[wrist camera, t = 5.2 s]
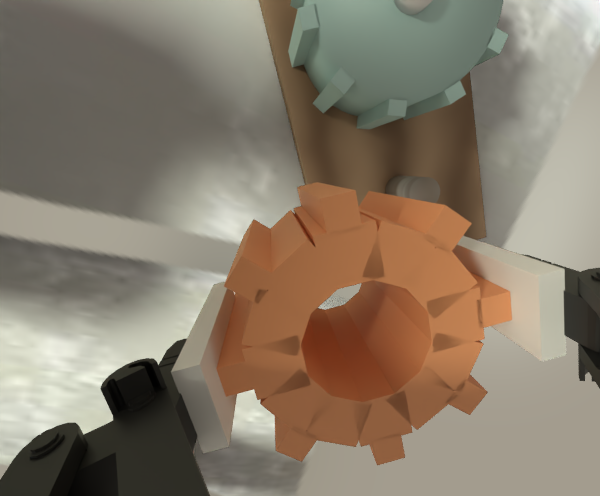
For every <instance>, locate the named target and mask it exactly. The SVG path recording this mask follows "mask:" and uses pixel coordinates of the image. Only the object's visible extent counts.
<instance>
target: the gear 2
mask: <svg viewBox="0 0 600 496" xmlns="http://www.w3.org/2000/svg"><path fill="white" fill-rule="evenodd" d="M297 189H298V193H299V198H300V202H301V206H300V207H296V208H294V212H295V214H294V213H293V212H292V211H291V210H290V211H289V212H288V213H287V214H286V215H285V216H284V217H283V218H282V219H280V220H279V221H278V222H277V223H276V224H275V225H274V226H273V227H272V228H271V229H269V228H268V227H266V226H264V225H262V224H261V223H259V222H257V221H256V220H254V219H253V221H252V223H251V224H250V226H249V228H248V230H247V231H246V233H245V235H244V236H243V239H242V241H241V244H240V246H239V249H238V252H237V254H236V257H235V259H234V262H233V264H232V267H231V269H230V272H229V274H228V277H227V279H226V282H225V284H224V287H226V288H228V289H230V290H232V291H234V292H235V301H234V305H233V308H232V312H231V316H230V320H229V323H228V327H227V331H226V335H225V338H224V342H223V346H222V350H221V353H220V357H219V361H218V365H217V368H216V369H217V372H218V375H219V378H220V381H221V384H222V387H223V390H224V392H225V395H226V397H227V396H230V395H234V394H238V393H242V392H245V391H249V390H253V389H254V390H255V393H256V396H257V400H259V399H261V403H260V404H261V405H262V406H264V407H265V408H266V409H267V410H268V411H270V412H271V413H272V414H273V415H275V444H276V451H277V452H280V453H282V454H285V455H287V456H289V457H292V458H294V459H296V460H299V461H301V462H302V461H303V459H304V458H305V456H306V455H307V454H308V452H309V451H310V449H311V448H312V446H313V445H314V444H315V442H316V441H317V440H318V441H324V442H330V443H336V444H342V445H347V446H354V447H356V445H357V443H358V440H359V442H360V445H361V446H365V445H368V444H369V445H370V447H371V450H372V453H373V455H374V458H375V461H376V463H377V465H380V464H384V463H387V462H391V461H394V460H398V459H401V458H405V454H404V449H403V443H402V438H401V435H405V434H408V433H412V427H411V425H412V426H413V427H415V428H416V429H419V428H420V427H421V426H422V425H424V424H425V423H426V422H427V421H428V420H430V419H431V418H432V417H433V416H435V415H436V414H437V413H438V412H439V411H440V410H442V409H443V408H444V407H445V406H447V405H448V404H450V405H452V406H453V407H455V408H457V409H459V410H461V411H463V412H465V413H467V414H469V415H470V414H471V413H472V411H473V410H474V409H475V408H476V406H477V405H478V404H479V403H480V401H481V400H482V399H483V398H484V396H485V395H486V394H487V391H486V390H485V389H484V388H483V387H482V386H481V385H480V384H479V383H478V382H477V381H476V380H475V379H474V378H473V377H472V376H471V375H470V372H471V370H472V368H473V366H474V363H475V362H476V359H477V357H478V355H479V353H480V351H481V348H482V346H483V343H482V342H480V341H479V340H482V339H484V329H483V328H484V327H488V326H492V325H496V324H500V323H503V322H507V321H511V320H512V312H511V297H510V291H508V290H506V289H504V288H502V287H500V286H498V285H496V284H494V283H492V282H490V281H488V280H486V279H484V278H482V277H480V276H478V275H476V274H474V273H472V272H470V271H468V270H467V269H466V268H465V266H464V265H463V264H462V263H461V261H460V260H459V259H458V258H457V257H456V255H455V254H454V253H453V252H452V250H453V249H454V248H455V246H456V245H457V243H458V242H459V241H460V239H461V238H462V236H463V235H464V234H465V232H466V231H467V229H468V228H469V227H470V225H471V224H472V223H471V222H469V221H468V220H466V219H465V218H463V217H462V216H461V215H459V214H458V213H456V212H455V211H453V210H452V209H450V208H449V207H448V206H446V205H442V204H437V203H431V202H426V201H421V200H415V199H410V198H404V197H399V196H394V195H388V194H383V193H378V192H372V191H368V193H367V195H366V196H365V198H364V199H363V201H362V202H361V204H360V205H359V206H358V201H357V195H356V190H352V189H347V188H342V187H338V186H333V185H328V184H323V183H318V182H316V183H312V184H308V185H304V186H300V187H297ZM359 283H362V285H361V287H360V290H359V292H358V293H357V294H356V295H355V296H353V297H352V298H351V299H350V300H349V301H348V302H347V303H346V304H345V305H342V306H338V307H334V308H330V309H326V310H323V309H319V308H318V307H319V306H320V305H321V304H322V303H323V302H324V301H325V300H326V299H328V298H329V297H330V296H331V295H332V294H333V293H334V292H335V291H336V290H337V289H340V288H344V287H348V286H352V285H356V284H359Z"/></svg>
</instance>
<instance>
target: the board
mask: <svg viewBox="0 0 600 496" xmlns="http://www.w3.org/2000/svg"><path fill="white" fill-rule="evenodd" d="M259 3H260V7H261V11H262V15H263V19H264V23H265V27H266V31H267V35H268V39H269V43H270V47H271V51H272V55H273V59H274V63H275V67H276V71H277V74H278V78H279V82H280V86H281V90H282V94H283V98H284V102H285V106H286V110H287V114H288V118H289V122H290V126H291V130H292V134H293V138H294V142H295V146H296V150H297V154H298V158H299V162H300V166H301V170H302V174H303V178H304V182H305V185H308V184H312V183H316V182H318V183H323V184H328V185H333V186H338V187H342V188H347V189H352V190H356V195H357V201H358V206H359V205H360V204H361V202H362V201H363V199H364V198H365V196H366V195H367V193H368V191H372V192H378V193H383V194H388V195H394V196H399V197H404V198H410V199H415V200H421V201H426V202H431V203H437V204H442V205H446V206H448V207H449V208H450V209H452V210H453V211H455V212H456V213H458V214H459V215H461V216H462V217H463V218H465V219H466V220H468V221H469V222H471V223H472V224H471V225H470V227H469V228H468V229H467V231H466V232H465V234H464V235H463V236H466V237H469V238H472V239H475V240H478V239H481V238H484V237H486V229H485V219H484V209H483V199H482V189H481V179H480V169H479V160H478V150H477V140H476V130H475V120H474V110H473V100H472V90H471V80H470V71H469V72H468V73H467V74H466V75H465V76H464V77H463V78H462V79H461V80H460V81H461V84H462V86H463V88H464V91H465V93H466V95H464V96H463V97H461V98H460V99H458V100H456V101H455V102H453V103H452V104H450V105H448V106H445V107H442V108H439V109H436V110H433V111H430V112H427V113H424V114H421V115H418V116H415V117H412V118H409V119H407V120H404V119H403V118H400V119H397V120H395V121H392V122H389V123H386V124H384V125H381V126H378V127H375V128H373V129H357V118H358V116H355V115H351V114H348V113H346V112H343V111H341V110H339V109H338V108H336V107H334V106H333V105H332V106H331V107H330V108H329V109H328V110H327V111H326V112H324V113H322V112H321V111H320V110H319V109H318V108H317V107H316V106H315V105H314V104H313V102H314V101H315V100H316V98H317V97H318V96H319V94H320V93H319V92H318V91H317V89H316V88H315V87H314V85H313V83H312V82H311V80H310V78H309V76H308V74H307V72H306V69H305V67H304V65H300V66H296V67H292V65H291V61H290V57H289V53H288V50H289V45H290V41H291V37H292V32H293V28H294V23H295V19H296V14H297V10H298V9H296V8H294V7H292V6H290V4H291V0H259Z"/></svg>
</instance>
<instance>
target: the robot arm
mask: <svg viewBox="0 0 600 496" xmlns="http://www.w3.org/2000/svg"><path fill="white" fill-rule="evenodd" d="M452 252H453V253H454V254H455V255H456V257H457V258H458V259H459V260H460V261H461V263H462V264H463V265H464V266H465V268H466V269H467V270H468V271H470V272H472V273H474V274H476V275H478V276H480V277H482V278H484V279H486V280H488V281H490V282H492V283H494V284H496V285H498V286H500V287H502V288H504V289H506V290H508V291H510V297H511V312H512V320H511V321H507V322H503V323H500V324H496V325H492V327H493V328H494V329H496V330H497V331H499V332H500V333H502V334H503V335H504V336H506V337H507V338H509V339H510V340H512V341H513V342H514V343H516V344H517V345H519V346H520V347H522V348H523V349H524V350H526V351H527V352H529V353H530V354H532V355H533V356H535V357H536V358H538V359H539V360H540V361H546V360H549V359H553V358H557V357H560V356H564V355H566V336H567V337H569V338H570V339H572V340H574V341H576V342H578V346H579V349H578V350H579V379H580V381H585V374H586V373H587V372H589V373H590V374H591V376H592V381H595V382H596V383H597V385H598V386H599V388H600V268H595V269H588V270H585V271H582V272H579V271H576V270H572V269H569V268H566V267H563V266H560V265H557V264H551V262H547V261H544V260H542V261H541V259H538V258H535V257H532V256H529V255H521V254H517V253H514V252H511V251H508V250H505V249H502V248H499V247H496V246H493V245H490V244H487V243H484V242H481V241H478V240H475V239H472V238H469V237H466V236H462V238H461V239H460V241H459V242H458V243H457V245H456V246H455V248H454V249H453V250H452ZM224 284H225V282H222V283H218V284H214V285H213V287H212V289H211V291H210V293H209V295H208V298H207V300H206V302H205V304H204V306H203V308H202V310H201V312H200V314H199V316H198V318H197V320H196V322H195V324H194V326H193V328H192V330H191V332H190V334H189V336H188V338H187V339H183V340H179V341H177V342H175V343H174V344H173V345H172V346H171V347H170V348H169V349H168V350H167V351H166V353H165V355H164V357H163V358H162V361H161V362H160V364H159V365H158V364H157V361H155V360H154V359H149V358H146V359H141V360H137V361H134V362H132V363H129V364H127V365H125V366H123V367H122V368H120V369H118V370H116V371H115V372H114V373H112V374H111V375H110V376H109V377H108V378H107V379H106V380H105V381H104V382H103V384H102V386H101V391H102V393H103V395H104V397H105V399H106V402H107V404H108V406H109V408H110V410H111V412H112V414H113V421H112V422H110V423H108V424H106V425H104V426H101V427H99V428H97V429H95V430H93V431H91V432H89V433H86V434H84V435H83V433H82V431H81V429H80V427H79V426H78V425H77V424H76V423H66V424H62V425H59V426H56V427H54V428H52V429H49V430H46V431H45V432H43V433H41V435H38V436H37V437H35V438H34V439H33V440H32V441H31V442H30V443H29V444H28V445H26V446H25V447H24V448H23V449H22V450H21V451H20V452H19V454H18V455H17V456H16V457H15V458H14V460H13V461H12V463H11V464H10V466H9V467H8V469H7V471H6V472H5V473H4V475H3V476H2V478H1V480H0V496H210V494H209V492H208V489H207V487H206V484H205V481H204V479H203V476H202V474H201V471H200V469H199V466H198V464H197V461H196V459H195V456H194V454H193V450H194V447H195V443H196V439H197V440H198V443H199V445H200V448H201V450H202V453H203V454H205V453H209V452H212V451H216V450H220V449H223V448H227V447H229V446H230V439H231V432H232V425H233V418H234V411H235V404H236V397H237V394H234V395H230V396H227V397H226V395H225V392H224V390H223V387H222V384H221V381H220V378H219V375H218V372H217V369H216V368H217V365H218V361H219V357H220V353H221V350H222V346H223V342H224V338H225V335H226V331H227V327H228V323H229V320H230V316H231V312H232V308H233V305H234V301H235V295H234V292H233V291H232V290H230V289H228V288H226V287H224Z"/></svg>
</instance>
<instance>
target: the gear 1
mask: <svg viewBox="0 0 600 496" xmlns="http://www.w3.org/2000/svg"><path fill="white" fill-rule="evenodd" d="M502 4H503V0H291V4H290V6H292V7H294V8H296V9H298V10H297V14H296V19H295V23H294V28H293V32H292V37H291V41H290V45H289V50H288V53H289V57H290V61H291V65H292V67H296V66H300V65H304V67H305V69H306V72H307V74H308V76H309V78H310V80H311V82H312V83H313V85H314V87H315V88H316V89H317V91H318V92H319V93H320V94H319V96H318V97H317V98H316V100H315V101H314V102H313V104H314V105H315V106H316V107H317V108H318V109H319V110H320V111H321V112H322V113H324V112H326V111H327V110H328V109H329V108H330V107H331V106H332V105H333V106H334V107H336V108H338V109H339V110H341V111H343V112H346V113H348V114H351V115H355V116H358V118H357V129H373V128H375V127H378V126H381V125H384V124H386V123H389V122H392V121H395V120H397V119H400V118H403V119H404V120H407V119H409V118H412V117H415V116H418V115H421V114H424V113H427V112H430V111H433V110H436V109H439V108H442V107H445V106H448V105H450V104H452V103H453V102H455V101H456V100H458V99H460V98H461V97H463V96H464V95H466V93H465V91H464V88H463V86H462V84H461V81H460V80H461V79H462V78H463V77H464V76H465V75H466V74H467V73H468V72H469V71H470V70H471V69H472V68H473V67H474V66H476V65H478V64H480V63H482V62H484V61H486V60H488V59H490V58H492V57H495V56H497V55H499V54H500V52H501V50H502V48H503V46H504V44H505V41H506V39H507V37H508V34H507V33H505V32H503V31H501V30H500V29H498V28H496V27H497V24H498V21H499V17H500V14H501V9H502Z"/></svg>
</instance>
